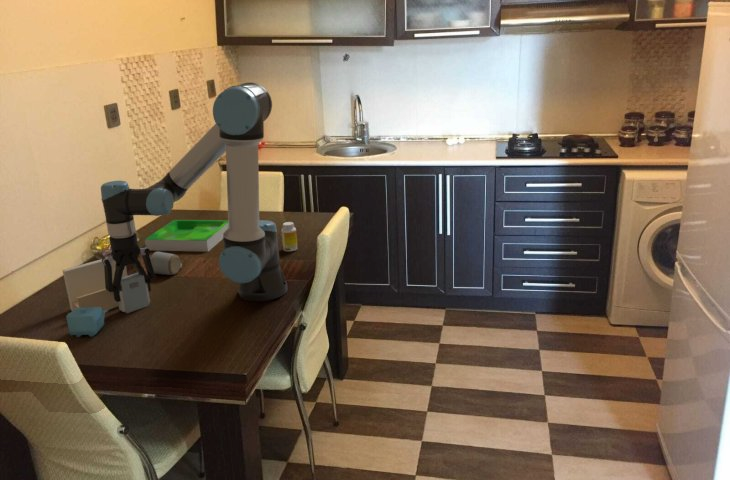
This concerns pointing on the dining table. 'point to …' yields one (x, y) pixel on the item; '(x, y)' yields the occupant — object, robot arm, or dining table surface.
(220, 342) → the dining table surface
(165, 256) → the grey cylinder
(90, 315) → the light blue rounded block
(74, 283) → the board
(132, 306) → the grey block
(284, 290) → the robot arm
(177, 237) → the tray
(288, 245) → the supplement bottle
